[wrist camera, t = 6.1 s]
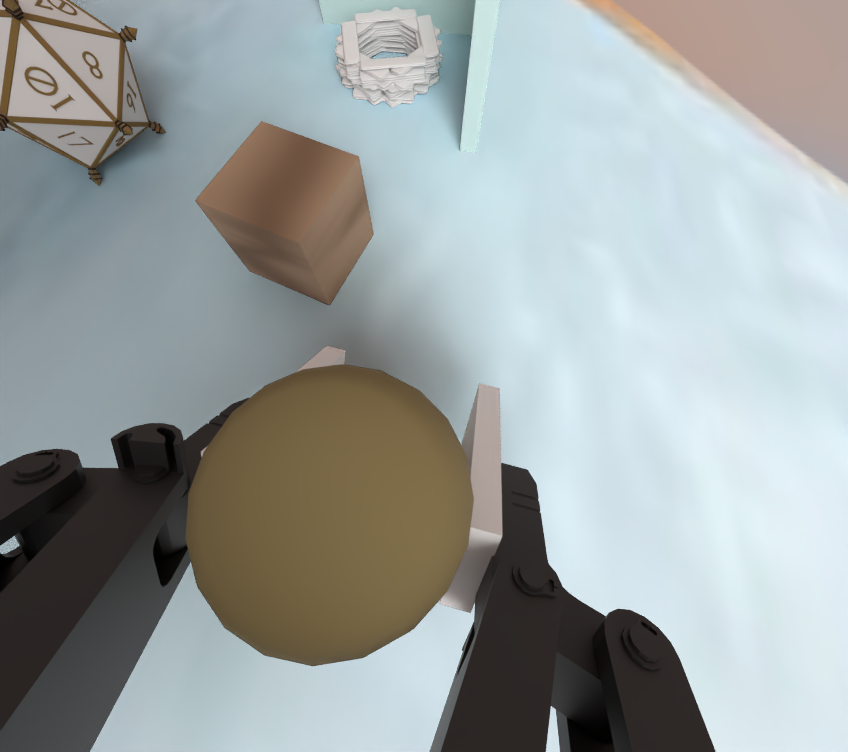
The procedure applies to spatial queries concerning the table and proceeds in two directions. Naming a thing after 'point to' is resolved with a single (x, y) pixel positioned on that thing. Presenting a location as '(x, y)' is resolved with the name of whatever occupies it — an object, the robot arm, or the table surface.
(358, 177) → the walnut block
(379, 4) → the l-shaped corner panel
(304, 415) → the cork
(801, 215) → the table surface
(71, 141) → the game die
